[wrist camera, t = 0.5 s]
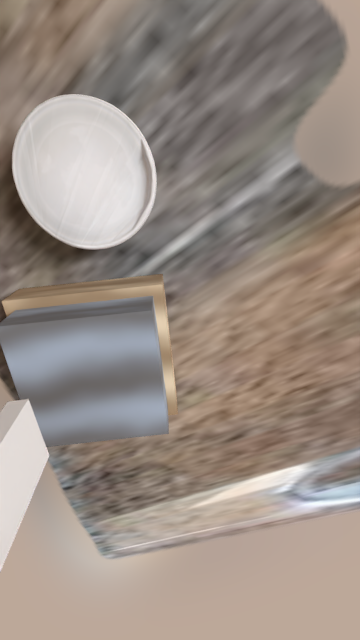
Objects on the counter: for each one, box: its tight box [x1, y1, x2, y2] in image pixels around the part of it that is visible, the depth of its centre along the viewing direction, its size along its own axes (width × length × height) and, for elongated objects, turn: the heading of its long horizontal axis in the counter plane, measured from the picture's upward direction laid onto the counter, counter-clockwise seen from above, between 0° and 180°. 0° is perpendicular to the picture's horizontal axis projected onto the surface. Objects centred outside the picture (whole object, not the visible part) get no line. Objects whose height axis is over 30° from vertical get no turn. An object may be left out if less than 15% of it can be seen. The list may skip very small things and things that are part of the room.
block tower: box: [0, 274, 178, 447], centre depth 32 cm, size 15×15×8 cm
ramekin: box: [12, 94, 157, 250], centre depth 27 cm, size 11×11×5 cm
